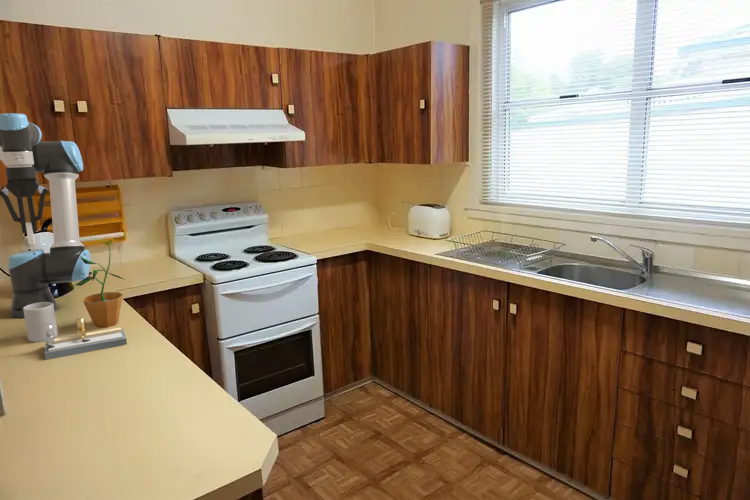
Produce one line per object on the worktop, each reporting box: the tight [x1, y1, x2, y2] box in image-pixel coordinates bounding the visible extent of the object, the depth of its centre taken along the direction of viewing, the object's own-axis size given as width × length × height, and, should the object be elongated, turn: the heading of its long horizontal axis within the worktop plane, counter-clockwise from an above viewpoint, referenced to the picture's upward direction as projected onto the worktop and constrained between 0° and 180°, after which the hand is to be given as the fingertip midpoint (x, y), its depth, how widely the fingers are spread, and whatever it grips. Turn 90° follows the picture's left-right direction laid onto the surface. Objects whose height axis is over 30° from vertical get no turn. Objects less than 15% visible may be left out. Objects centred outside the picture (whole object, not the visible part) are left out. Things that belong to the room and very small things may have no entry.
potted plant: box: [74, 237, 126, 329], centre depth 186 cm, size 18×19×30 cm
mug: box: [23, 302, 59, 343], centre depth 178 cm, size 12×8×11 cm
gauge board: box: [44, 327, 128, 360], centre depth 169 cm, size 12×22×3 cm, turn 120°
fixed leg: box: [45, 324, 56, 347], centre depth 164 cm, size 8×2×5 cm, turn 30°
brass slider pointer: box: [75, 317, 87, 341], centre depth 168 cm, size 8×2×5 cm, turn 30°
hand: (31, 243), depth 167 cm, fingers closed
